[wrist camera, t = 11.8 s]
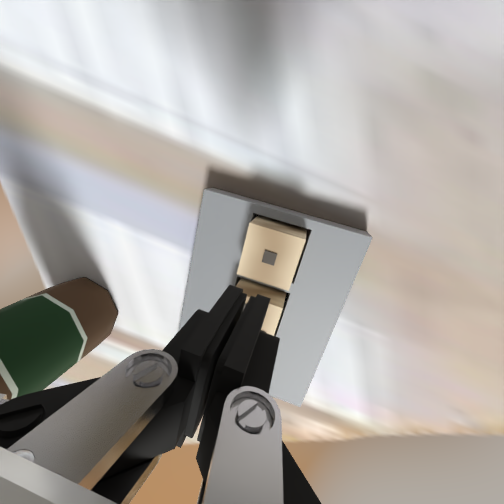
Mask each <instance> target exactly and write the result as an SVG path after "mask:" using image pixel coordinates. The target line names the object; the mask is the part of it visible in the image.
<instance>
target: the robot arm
mask: <svg viewBox="0 0 504 504" xmlns="http://www.w3.org/2000/svg"><path fill="white" fill-rule="evenodd" d="M246 298H247V294H245V293H243V289H242V288H239V287H236V286H233V285H229V286H228V287H227V289H226V290H225V291H224V293H223V294H222V295H221V297H220V298H219V299H218V301H217V302H216V303H215V305H214V306H213V307H212V309H211V310H210V311H209V312H206V311H203V310H200V309H198V310H197V311H196V312H195V313H194V314H193V315H192V316H191V318H190V319H189V320H188V321H187V322H186V323H185V325H184V326H183V327H182V328H181V329H180V331H179V332H178V333H177V334H176V335H175V336H174V338H173V339H172V340H171V341H170V342H169V343H168V345H167V346H166V347H165V348H164V349H163V351H161V350H155V349H149V350H142V351H139V352H136V353H134V354H132V355H130V356H129V357H127V358H126V359H125V360H123V361H122V362H121V363H119V364H118V365H117V366H115V367H114V368H113V369H111V370H110V371H109V372H107V373H106V374H105V375H104V376H102V377H99V378H95V379H90V380H86V381H82V382H77V383H73V384H69V385H64V386H60V387H55V388H51V389H47V390H42V391H38V392H34V393H29V394H25V395H22V396H19V397H16V398H13V399H11V400H7V395H6V394H0V504H129V503H130V502H131V500H132V499H133V497H134V496H135V495H136V493H137V492H138V490H139V489H140V488H141V486H142V485H143V483H144V482H145V481H146V479H147V478H148V476H149V475H150V474H151V472H152V471H153V469H154V468H155V466H156V465H157V464H158V462H159V460H160V458H161V456H162V454H163V453H165V452H168V451H170V450H172V449H175V447H176V446H178V447H180V448H181V446H182V444H183V442H184V440H185V438H186V436H188V437H190V438H193V436H194V434H195V432H196V429H197V427H198V425H199V423H200V421H201V419H202V422H201V426H200V430H199V434H198V438H197V441H200V445H199V448H198V452H197V456H196V460H197V462H198V465H199V468H200V471H201V474H202V477H203V481H202V484H201V488H200V493H199V497H198V502H197V504H321V502H320V501H319V499H318V497H317V496H316V494H315V493H314V491H313V489H312V488H311V486H310V484H309V483H308V481H307V480H306V478H305V477H304V475H303V473H302V472H301V470H300V468H299V467H298V465H297V464H296V462H295V460H294V459H293V457H292V456H291V454H290V452H289V451H288V449H287V448H286V446H285V444H284V443H283V441H282V426H281V414H280V409H279V407H278V405H277V403H276V402H275V400H274V399H273V398H272V397H271V396H270V395H269V390H270V385H271V380H272V375H273V370H274V366H275V361H276V356H277V351H278V346H279V342H280V338H278V337H276V336H273V335H270V334H267V333H264V332H262V331H261V328H262V325H263V322H264V319H265V316H266V312H267V309H268V306H269V303H270V299H271V298H268V297H265V296H262V295H259V294H257V296H256V297H254V296H251V297H250V298H249V300H248V302H247V304H246V306H245V308H244V305H245V301H246ZM243 309H244V310H243ZM203 414H204V415H203ZM202 416H203V418H202Z"/></svg>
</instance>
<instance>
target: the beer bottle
mask: <svg viewBox="0 0 504 504" xmlns="http://www.w3.org/2000/svg"><path fill="white" fill-rule="evenodd" d="M117 315H118V311H117V309H116V307H115V305H114V303H113V301H112V298H111V296H110V294H109V292H108V290H106V289H105V288H103V287H101V286H100V285H98V284H96V283H95V282H93V281H91V280H90V279H88V278H86V277H82V278H79V279H75V280H71V281H67V282H64V283H61V284H58V285H55V286H53V287H50V288H48V289H45V290H43V291H41V292H39V293H37V294H34V295H32V296H29V297H27V298H25V299H23V300H20V301H18V302H16V303H13V304H11V305H9V306H7V307H5V308H2V309H0V394H6V395H7V400H11V399H13V398H16V397H19V396H22V395H25V394H29V393H34V392H38V391H42V390H43V389H45V388H46V387H47V386H48V385H50V384H51V383H52V382H53V381H55V380H56V379H57V378H58V377H60V376H61V375H62V374H63V373H65V372H66V371H67V370H68V369H69V368H71V367H72V366H73V365H74V364H76V363H77V362H78V361H79V360H81V359H82V358H83V357H84V356H86V355H87V354H88V353H89V352H90V351H92V350H93V349H94V348H95V347H97V346H98V345H99V344H100V343H101V342H102V341H103V340H105V339H106V338H107V337H108V336H109V335H110V334H111V331H112V329H113V326H114V323H115V321H116V318H117Z"/></svg>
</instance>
